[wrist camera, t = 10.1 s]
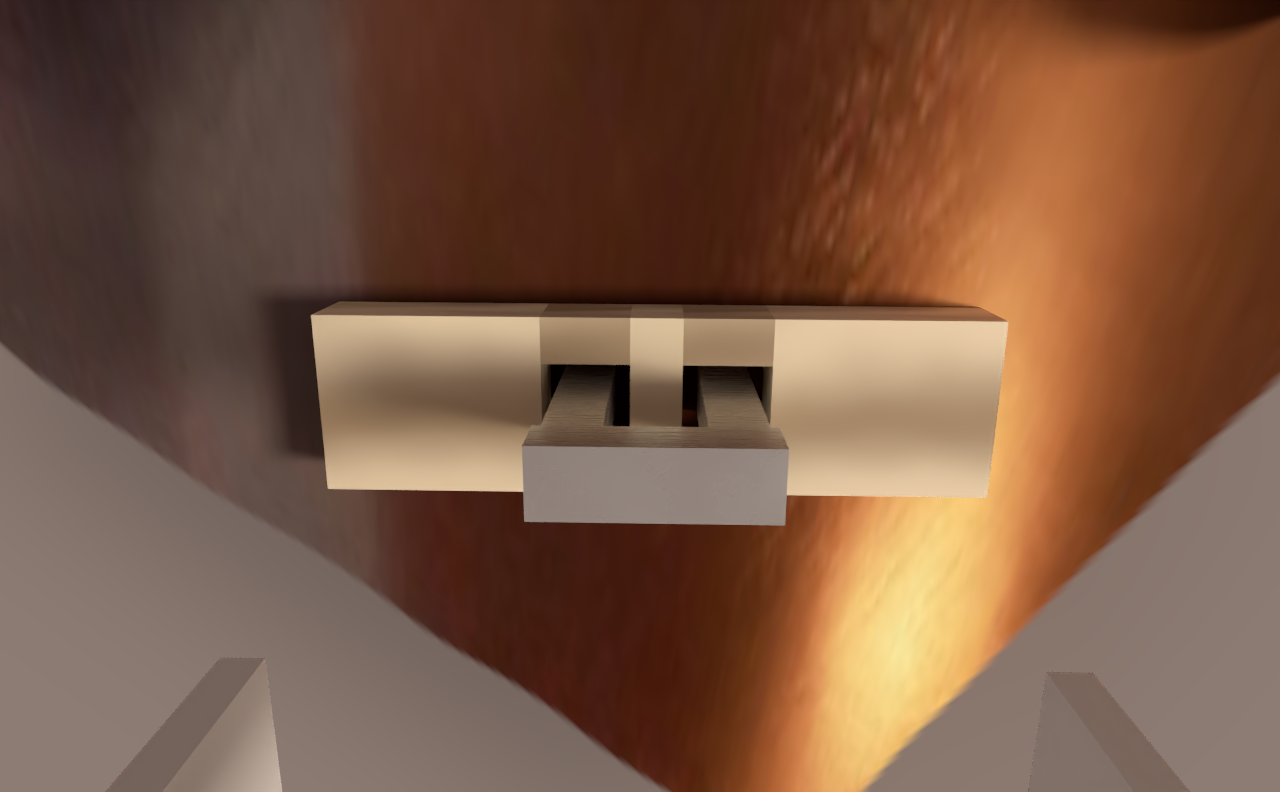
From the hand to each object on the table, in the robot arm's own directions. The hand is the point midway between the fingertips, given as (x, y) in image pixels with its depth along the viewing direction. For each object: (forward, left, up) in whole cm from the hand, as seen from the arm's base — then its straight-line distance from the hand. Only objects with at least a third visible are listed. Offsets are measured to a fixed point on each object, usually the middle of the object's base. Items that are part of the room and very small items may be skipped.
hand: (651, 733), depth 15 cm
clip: (0, 0, -23) cm, 23 cm away
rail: (0, 0, -22) cm, 22 cm away
